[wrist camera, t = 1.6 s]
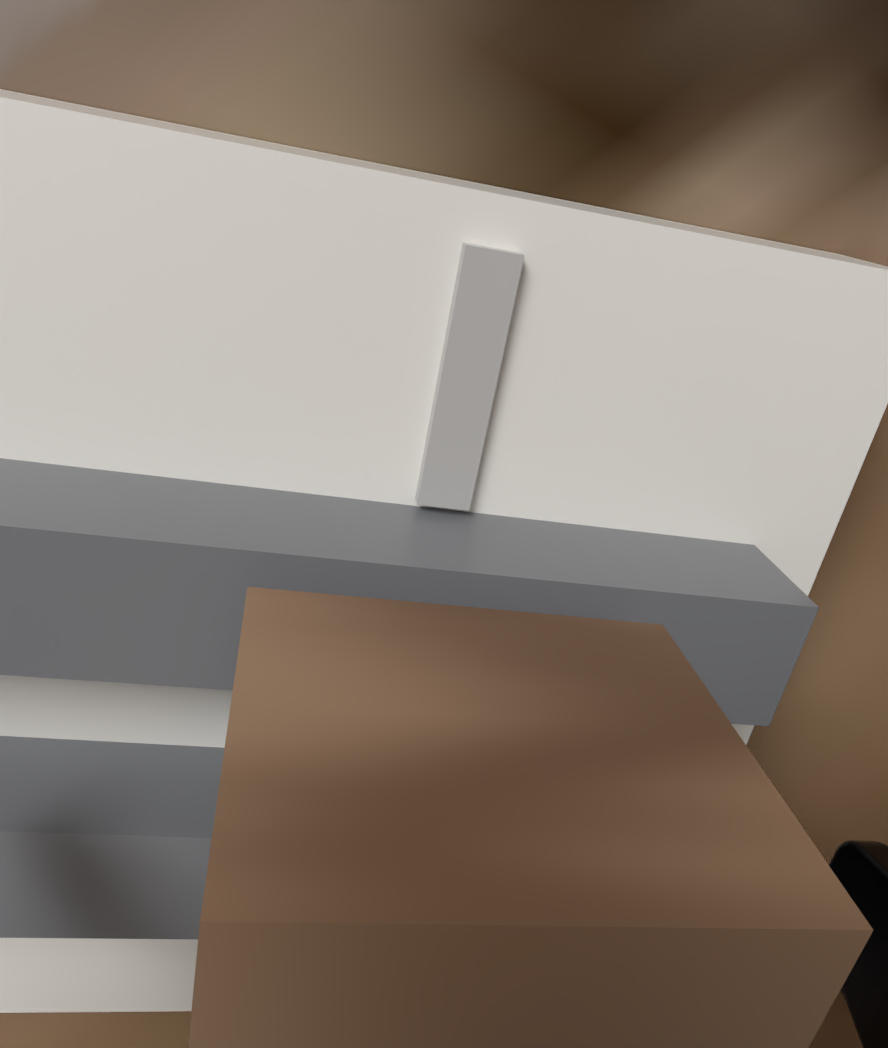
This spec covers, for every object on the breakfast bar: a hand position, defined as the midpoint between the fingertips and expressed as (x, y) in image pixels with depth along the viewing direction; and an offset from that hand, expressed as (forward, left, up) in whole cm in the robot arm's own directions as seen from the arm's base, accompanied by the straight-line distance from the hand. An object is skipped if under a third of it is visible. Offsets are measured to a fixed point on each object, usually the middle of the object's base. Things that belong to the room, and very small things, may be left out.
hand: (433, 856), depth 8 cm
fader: (0, 0, -2) cm, 2 cm away
